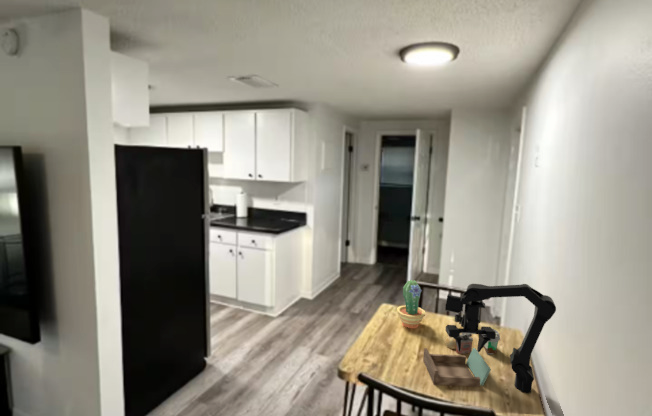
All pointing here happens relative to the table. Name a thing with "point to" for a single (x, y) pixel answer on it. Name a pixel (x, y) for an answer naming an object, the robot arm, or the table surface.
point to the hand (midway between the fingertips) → (468, 351)
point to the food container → (492, 344)
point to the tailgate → (478, 366)
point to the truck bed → (449, 370)
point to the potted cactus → (411, 305)
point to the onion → (451, 342)
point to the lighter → (465, 344)
